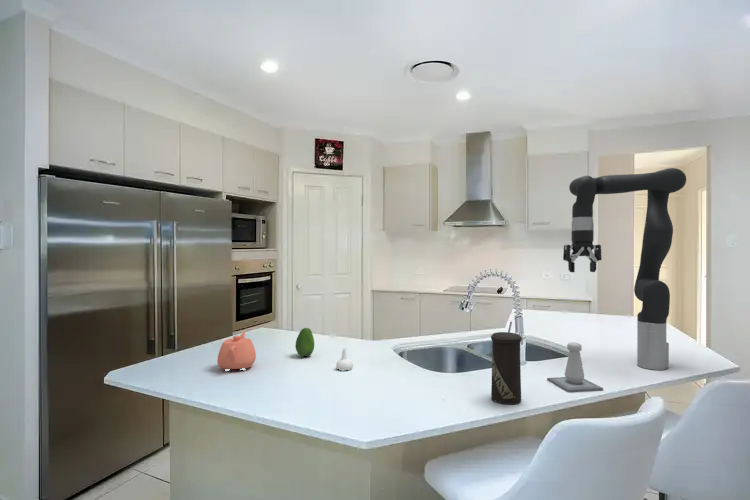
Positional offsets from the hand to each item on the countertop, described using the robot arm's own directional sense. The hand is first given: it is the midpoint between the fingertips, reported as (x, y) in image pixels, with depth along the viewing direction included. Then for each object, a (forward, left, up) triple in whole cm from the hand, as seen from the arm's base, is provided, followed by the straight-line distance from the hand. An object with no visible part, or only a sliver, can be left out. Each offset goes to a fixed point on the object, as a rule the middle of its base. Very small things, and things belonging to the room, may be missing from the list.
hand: (582, 272), depth 158 cm
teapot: (+130, -18, -36) cm, 136 cm away
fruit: (+105, -30, -36) cm, 115 cm away
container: (+44, +28, -36) cm, 64 cm away
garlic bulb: (+90, -10, -36) cm, 98 cm away
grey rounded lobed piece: (+16, +19, -35) cm, 43 cm away
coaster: (+16, +19, -36) cm, 44 cm away
